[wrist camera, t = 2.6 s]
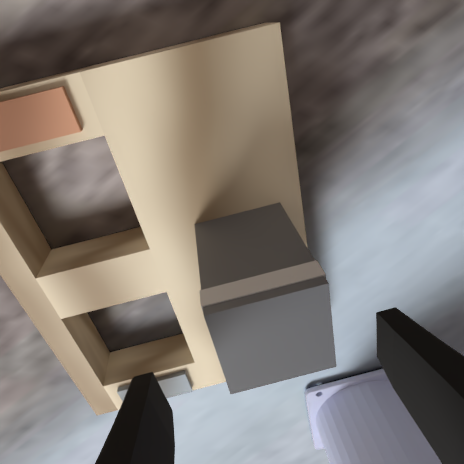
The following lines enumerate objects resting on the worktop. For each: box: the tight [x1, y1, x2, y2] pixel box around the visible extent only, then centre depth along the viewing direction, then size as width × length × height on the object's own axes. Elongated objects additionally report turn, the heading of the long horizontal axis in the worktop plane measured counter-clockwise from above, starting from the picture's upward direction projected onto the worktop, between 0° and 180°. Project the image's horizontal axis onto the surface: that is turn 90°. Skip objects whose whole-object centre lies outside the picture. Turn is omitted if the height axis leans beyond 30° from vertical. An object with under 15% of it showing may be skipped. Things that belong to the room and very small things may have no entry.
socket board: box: [0, 22, 308, 415], centre depth 18 cm, size 14×18×3 cm
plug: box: [194, 202, 336, 394], centre depth 15 cm, size 4×4×6 cm
